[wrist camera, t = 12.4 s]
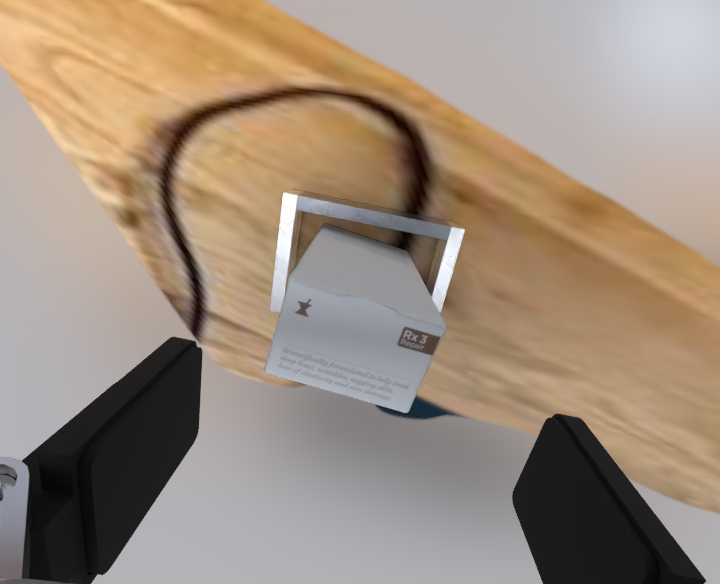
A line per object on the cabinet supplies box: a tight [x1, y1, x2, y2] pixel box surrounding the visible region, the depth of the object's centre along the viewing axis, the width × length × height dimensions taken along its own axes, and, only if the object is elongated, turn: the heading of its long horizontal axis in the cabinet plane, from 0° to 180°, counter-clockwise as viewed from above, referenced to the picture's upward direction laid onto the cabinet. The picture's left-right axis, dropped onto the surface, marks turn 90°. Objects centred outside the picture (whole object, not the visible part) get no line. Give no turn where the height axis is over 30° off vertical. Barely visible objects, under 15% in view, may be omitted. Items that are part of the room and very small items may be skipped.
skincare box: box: [264, 224, 446, 413], centre depth 19 cm, size 6×4×12 cm
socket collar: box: [270, 189, 465, 313], centre depth 23 cm, size 11×7×2 cm
